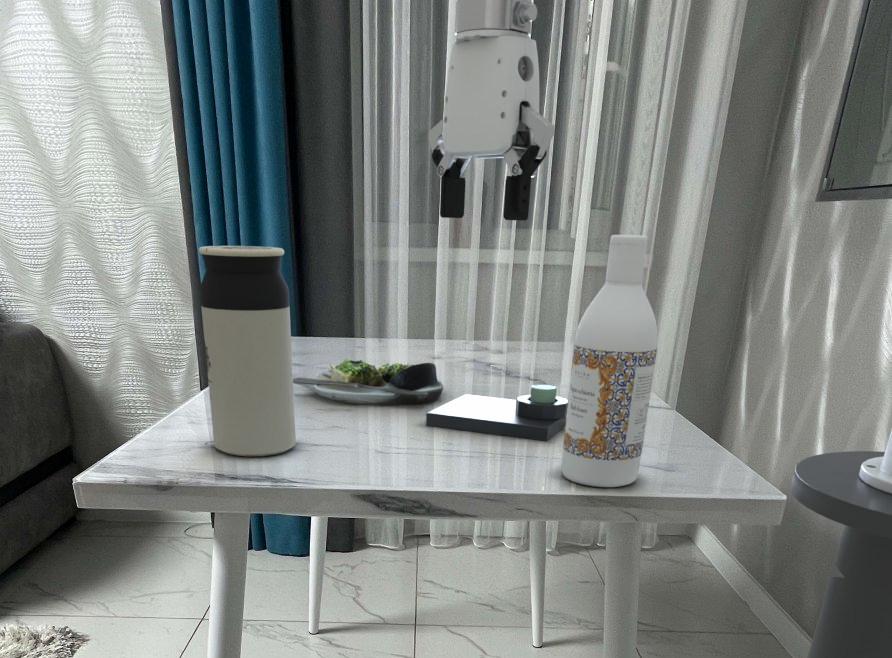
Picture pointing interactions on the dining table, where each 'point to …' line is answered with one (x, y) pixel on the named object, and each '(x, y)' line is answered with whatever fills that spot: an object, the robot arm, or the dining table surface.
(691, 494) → the dining table surface
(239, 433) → the travel mug
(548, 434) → the scale
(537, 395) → the button
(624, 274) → the bath foam
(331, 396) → the salad plate
